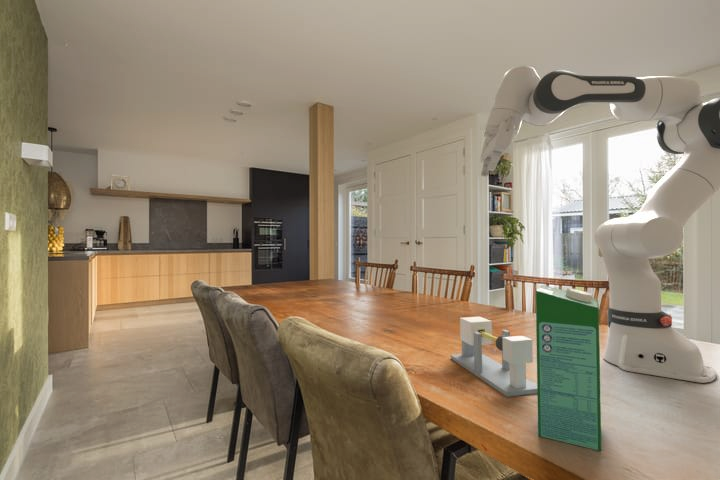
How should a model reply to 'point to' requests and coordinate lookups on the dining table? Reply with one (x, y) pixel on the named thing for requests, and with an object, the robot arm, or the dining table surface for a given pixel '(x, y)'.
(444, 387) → the dining table surface
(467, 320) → the sleeve
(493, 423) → the dining table surface
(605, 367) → the dining table surface
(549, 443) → the dining table surface
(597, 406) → the milk carton
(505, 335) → the bearing mount fixture
